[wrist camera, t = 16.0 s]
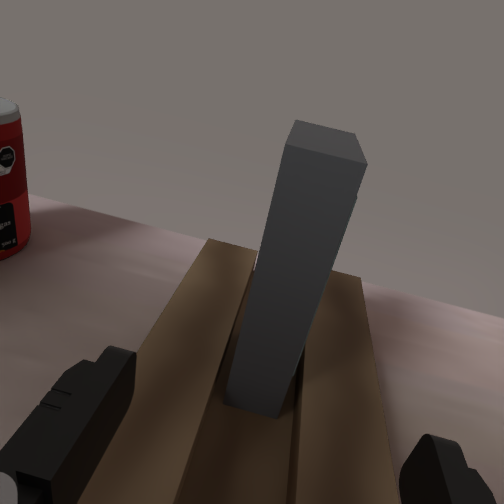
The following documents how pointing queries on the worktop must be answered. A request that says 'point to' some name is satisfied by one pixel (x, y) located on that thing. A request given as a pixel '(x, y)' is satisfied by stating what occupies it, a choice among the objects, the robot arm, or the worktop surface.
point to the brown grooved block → (244, 422)
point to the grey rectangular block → (294, 262)
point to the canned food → (12, 182)
